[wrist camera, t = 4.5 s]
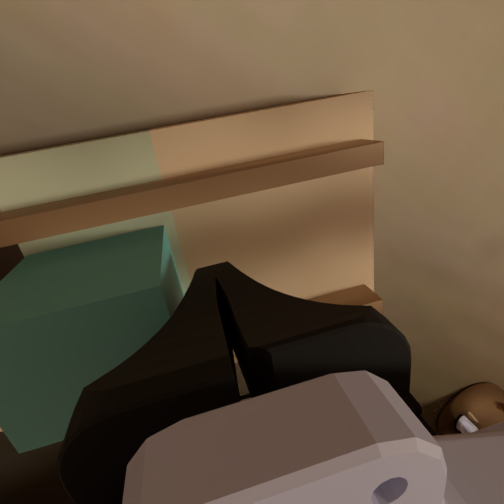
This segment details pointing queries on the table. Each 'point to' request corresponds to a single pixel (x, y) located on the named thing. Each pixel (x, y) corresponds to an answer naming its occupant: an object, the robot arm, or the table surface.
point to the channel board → (216, 196)
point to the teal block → (77, 325)
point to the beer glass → (472, 410)
